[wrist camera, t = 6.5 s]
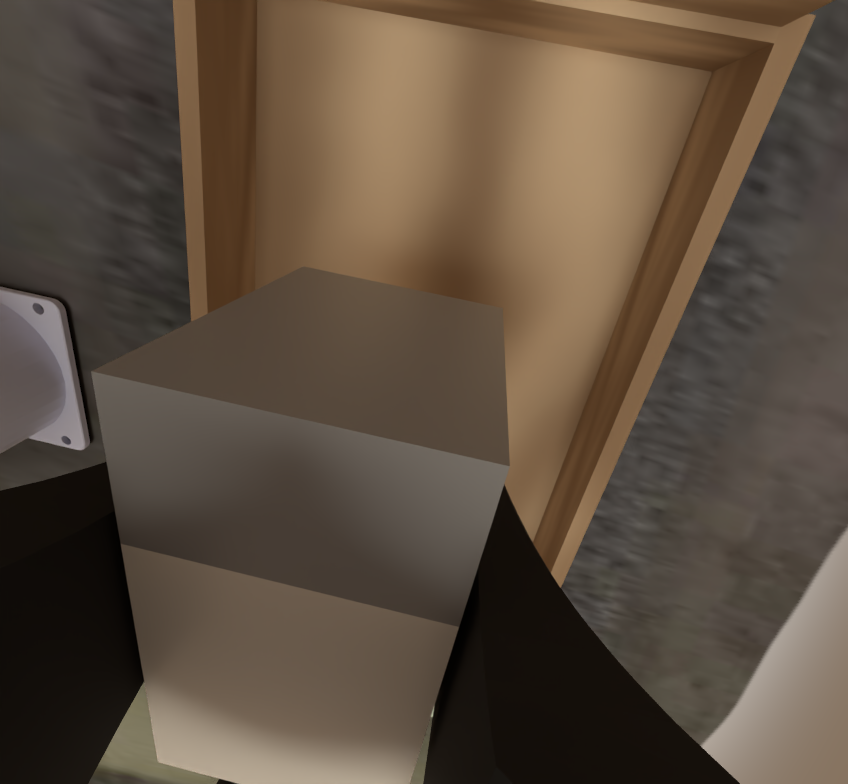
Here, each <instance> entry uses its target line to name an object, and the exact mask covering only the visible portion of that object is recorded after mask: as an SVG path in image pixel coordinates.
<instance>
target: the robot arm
mask: <svg viewBox="0 0 848 784" xmlns="http://www.w3.org/2000/svg"><path fill="white" fill-rule="evenodd" d="M41 306H42V307H43V309H44V310H43V309H42V308H41ZM27 438H30V439H34V440H38V441H42V442H47V443H51V444H55V445H59V446H63V447H67V448H72V449H76V450H83V449H85V448H86V447H88V446H89V444H90V439H89V433H88V428H87V422H86V417H85V412H84V406H83V401H82V395H81V390H80V385H79V379H78V374H77V368H76V363H75V358H74V352H73V347H72V341H71V336H70V330H69V325H68V320H67V314H66V310H65V307H64V306H63V304H62V303H61V302H59V301H58V300H56V299H54V298H50V297H45V296H40V295H36V294H31V293H27V292H22V291H18V290H13V289H9V288H4V287H0V454H1V453H2V452H4V451H6V450H8V449H9V448H11V447H13V446H15V445H16V444H18V443H20V442H22V441H23V440H25V439H27ZM143 682H144V677H143V671H142V666H141V660H140V654H139V648H138V642H137V636H136V631H135V625H134V619H133V613H132V607H131V601H130V596H129V590H128V584H127V578H126V572H125V566H124V561H123V555H122V549H121V543H120V537H119V531H118V526H117V520H116V514H115V508H114V502H113V496H112V491H111V485H110V479H109V473H108V467H107V462H105V463H102V464H98V465H95V466H92V467H89V468H86V469H82V470H79V471H76V472H72V473H69V474H65V475H62V476H58V477H55V478H51V479H47V480H44V481H40V482H36V483H31V484H27V485H23V486H19V487H14V488H10V489H6V490H2V491H0V784H88V783H89V781H90V779H91V777H92V775H93V773H94V771H95V770H96V768H97V766H98V764H99V762H100V760H101V758H102V757H103V755H104V753H105V751H106V749H107V747H108V745H109V743H110V742H111V740H112V738H113V736H114V734H115V732H116V730H117V729H118V727H119V725H120V723H121V721H122V719H123V717H124V716H125V714H126V712H127V710H128V709H129V707H130V705H131V703H132V702H133V700H134V698H135V696H136V694H137V693H138V691H139V689H140V687H141V686H142V684H143ZM423 784H740V783H739V782H738V781H737V780H736V779H735V778H733V777H732V776H731V775H730V774H729V773H728V772H727V771H726V770H725V769H724V768H723V767H722V766H721V765H720V764H719V763H718V762H717V761H715V760H714V759H713V758H712V757H711V756H710V755H709V754H708V753H707V752H706V751H705V750H704V749H703V748H702V747H701V746H700V745H699V744H698V743H696V742H695V741H694V740H693V739H692V738H691V737H690V736H689V735H688V734H687V733H686V732H685V731H684V730H683V729H682V728H681V727H680V726H679V725H677V724H676V723H675V722H674V721H673V719H672V718H671V717H670V716H669V715H668V714H667V713H666V712H665V711H664V710H663V709H662V708H661V707H660V706H659V705H658V704H657V703H656V702H655V701H654V700H653V699H652V698H651V697H650V696H649V694H648V693H647V692H646V691H645V690H644V689H643V688H642V687H641V686H640V685H639V684H638V683H637V682H636V681H635V680H634V679H633V677H632V676H631V675H630V674H629V673H628V672H627V671H626V670H625V668H624V667H623V666H622V665H621V664H620V663H619V662H618V661H617V660H616V658H615V657H614V656H613V655H612V654H611V652H610V651H609V650H608V649H607V648H606V646H605V645H604V644H603V643H602V642H601V640H600V639H599V638H598V637H597V636H596V634H595V633H594V632H593V631H592V630H591V628H590V627H589V626H588V625H587V623H586V622H585V621H584V619H583V618H582V617H581V616H580V614H579V613H578V612H577V610H576V609H575V608H574V606H573V605H572V603H571V602H570V601H569V599H568V598H567V596H566V595H565V594H564V592H563V591H562V589H561V588H560V586H559V585H558V583H557V582H556V580H555V579H554V577H553V576H552V574H551V572H550V571H549V569H548V568H547V566H546V564H545V563H544V561H543V559H542V558H541V556H540V554H539V553H538V551H537V549H536V548H535V546H534V544H533V542H532V540H531V538H530V537H529V535H528V533H527V531H526V529H525V527H524V525H523V523H522V521H521V519H520V517H519V515H518V513H517V511H516V509H515V507H514V505H513V503H512V500H511V498H510V496H509V494H508V491H507V489H506V487H505V484H504V487H503V490H502V493H501V496H500V499H499V502H498V506H497V509H496V512H495V515H494V518H493V521H492V524H491V528H490V531H489V534H488V537H487V540H486V543H485V547H484V550H483V553H482V556H481V559H480V562H479V566H478V569H477V572H476V575H475V578H474V581H473V585H472V588H471V591H470V594H469V597H468V600H467V604H466V607H465V610H464V613H463V616H462V619H461V623H460V626H459V629H458V632H457V635H456V638H455V642H454V645H453V648H452V651H451V654H450V657H449V661H448V664H447V667H446V670H445V673H444V676H443V680H442V683H441V686H440V689H439V692H438V695H437V699H436V702H435V705H434V712H433V719H432V727H431V734H430V741H429V748H428V755H427V762H426V769H425V776H424V783H423Z"/></svg>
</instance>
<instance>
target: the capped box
mask: <svg viewBox="0 0 848 784" xmlns="http://www.w3.org/2000/svg"><path fill="white" fill-rule="evenodd" d="M91 374H92V380H93V386H94V391H95V397H96V403H97V409H98V415H99V421H100V426H101V432H102V438H103V444H104V450H105V456H106V461H107V467H108V473H109V479H110V485H111V491H112V496H113V502H114V508H115V514H116V520H117V526H118V531H119V537H120V543H121V549H122V555H123V561H124V566H125V572H126V578H127V584H128V590H129V596H130V601H131V607H132V613H133V619H134V625H135V631H136V636H137V642H138V648H139V654H140V660H141V666H142V671H143V677H144V683H145V689H146V695H147V701H148V706H149V712H150V718H151V724H152V730H153V736H154V741H155V747H156V753H157V759H158V762H160V763H164V764H167V765H171V766H175V767H178V768H182V769H186V770H189V771H193V772H197V773H201V774H204V775H208V776H212V777H215V778H219V779H223V780H226V781H230V782H234V783H238V784H410V781H411V778H412V774H413V771H414V768H415V765H416V762H417V759H418V755H419V752H420V749H421V746H422V743H423V740H424V736H425V733H426V730H427V727H428V724H429V721H430V718H431V714H432V711H433V708H434V705H435V702H436V699H437V695H438V692H439V689H440V686H441V683H442V680H443V676H444V673H445V670H446V667H447V664H448V661H449V657H450V654H451V651H452V648H453V645H454V642H455V638H456V635H457V632H458V629H459V626H460V623H461V619H462V616H463V613H464V610H465V607H466V604H467V600H468V597H469V594H470V591H471V588H472V585H473V581H474V578H475V575H476V572H477V569H478V566H479V562H480V559H481V556H482V553H483V550H484V547H485V543H486V540H487V537H488V534H489V531H490V528H491V524H492V521H493V518H494V515H495V512H496V509H497V506H498V502H499V499H500V496H501V493H502V490H503V487H504V483H505V480H506V477H507V474H508V471H509V468H510V458H509V436H508V414H507V392H506V369H505V347H504V325H503V308H500V307H495V306H490V305H486V304H481V303H476V302H471V301H467V300H462V299H457V298H452V297H447V296H443V295H438V294H433V293H428V292H424V291H419V290H414V289H409V288H405V287H400V286H395V285H390V284H385V283H381V282H376V281H371V280H366V279H362V278H357V277H352V276H347V275H343V274H338V273H333V272H328V271H323V270H319V269H314V268H309V267H304V266H303V267H301V268H299V269H297V270H295V271H293V272H291V273H289V274H287V275H285V276H283V277H281V278H279V279H277V280H275V281H273V282H271V283H269V284H267V285H265V286H263V287H261V288H259V289H257V290H255V291H253V292H250V293H248V294H246V295H244V296H242V297H240V298H238V299H236V300H234V301H232V302H230V303H228V304H226V305H224V306H222V307H220V308H218V309H216V310H214V311H212V312H210V313H208V314H206V315H204V316H202V317H200V318H198V319H196V320H194V321H192V322H190V323H188V324H186V325H184V326H182V327H180V328H178V329H176V330H174V331H172V332H170V333H168V334H166V335H164V336H161V337H159V338H157V339H155V340H153V341H151V342H149V343H147V344H145V345H143V346H141V347H139V348H137V349H135V350H133V351H131V352H129V353H127V354H125V355H123V356H121V357H119V358H117V359H115V360H113V361H111V362H109V363H107V364H105V365H103V366H101V367H99V368H97V369H95V370H93V371H91Z"/></svg>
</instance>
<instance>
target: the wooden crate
mask: <svg viewBox="0 0 848 784" xmlns="http://www.w3.org/2000/svg"><path fill="white" fill-rule="evenodd" d="M832 1H834V0H173V12H174V29H175V47H176V64H177V81H178V99H179V116H180V134H181V151H182V168H183V186H184V203H185V220H186V238H187V255H188V272H189V290H190V307H191V322H192V321H194V320H196V319H198V318H200V317H202V316H204V315H206V314H208V313H210V312H212V311H214V310H216V309H218V308H220V307H222V306H224V305H226V304H228V303H230V302H232V301H234V300H236V299H238V298H240V297H242V296H244V295H246V294H248V293H250V292H253V291H255V290H257V289H259V288H261V287H263V286H265V285H267V284H269V283H271V282H273V281H275V280H277V279H279V278H281V277H283V276H285V275H287V274H289V273H291V272H293V271H295V270H297V269H299V268H301V267H303V266H304V267H309V268H314V269H319V270H323V271H328V272H333V273H338V274H343V275H347V276H352V277H357V278H362V279H366V280H371V281H376V282H381V283H385V284H390V285H395V286H400V287H405V288H409V289H414V290H419V291H424V292H428V293H433V294H438V295H443V296H447V297H452V298H457V299H462V300H467V301H471V302H476V303H481V304H486V305H490V306H495V307H500V308H503V325H504V347H505V369H506V392H507V414H508V436H509V458H510V468H509V471H508V474H507V477H506V480H505V483H504V484H505V487H506V489H507V491H508V494H509V496H510V498H511V500H512V503H513V505H514V507H515V509H516V511H517V513H518V515H519V517H520V519H521V521H522V523H523V525H524V527H525V529H526V531H527V533H528V535H529V537H530V538H531V540H532V542H533V544H534V546H535V548H536V549H537V551H538V553H539V554H540V556H541V558H542V559H543V561H544V563H545V564H546V566H547V568H548V569H549V571H550V572H551V574H552V576H553V577H554V579H555V580H556V582H557V583H558V585H559V586H560V588H561V586H562V584H563V582H564V579H565V577H566V575H567V573H568V570H569V568H570V566H571V564H572V561H573V559H574V557H575V555H576V552H577V550H578V548H579V546H580V543H581V541H582V539H583V537H584V534H585V532H586V530H587V528H588V525H589V523H590V521H591V519H592V516H593V514H594V512H595V510H596V507H597V505H598V503H599V501H600V499H601V496H602V494H603V492H604V490H605V487H606V485H607V483H608V481H609V478H610V476H611V474H612V472H613V469H614V467H615V465H616V463H617V460H618V458H619V456H620V454H621V451H622V449H623V447H624V445H625V442H626V440H627V438H628V436H629V433H630V431H631V429H632V427H633V424H634V422H635V420H636V418H637V415H638V413H639V411H640V409H641V407H642V404H643V402H644V400H645V398H646V395H647V393H648V391H649V389H650V386H651V384H652V382H653V380H654V377H655V375H656V373H657V371H658V368H659V366H660V364H661V362H662V359H663V357H664V355H665V353H666V350H667V348H668V346H669V344H670V341H671V339H672V337H673V335H674V332H675V330H676V328H677V326H678V323H679V321H680V319H681V317H682V315H683V312H684V310H685V308H686V306H687V303H688V301H689V299H690V297H691V294H692V292H693V290H694V288H695V285H696V283H697V281H698V279H699V276H700V274H701V272H702V270H703V267H704V265H705V263H706V261H707V258H708V256H709V254H710V252H711V249H712V247H713V245H714V243H715V240H716V238H717V236H718V234H719V232H720V229H721V227H722V225H723V223H724V220H725V218H726V216H727V214H728V211H729V209H730V207H731V205H732V202H733V200H734V198H735V196H736V193H737V191H738V189H739V187H740V184H741V182H742V180H743V178H744V175H745V173H746V171H747V169H748V166H749V164H750V162H751V160H752V157H753V155H754V153H755V151H756V148H757V146H758V144H759V142H760V140H761V137H762V135H763V133H764V131H765V128H766V126H767V124H768V122H769V119H770V117H771V115H772V113H773V110H774V108H775V106H776V104H777V101H778V99H779V97H780V95H781V92H782V90H783V88H784V86H785V83H786V81H787V79H788V77H789V74H790V72H791V70H792V68H793V65H794V63H795V61H796V59H797V56H798V54H799V52H800V50H801V48H802V45H803V43H804V41H805V39H806V36H807V34H808V32H809V30H810V27H811V25H812V23H813V21H814V18H815V16H816V15H811V14H808V13H810V12H812V11H814V10H816V9H818V8H820V7H822V6H824V5H826V4H828V3H830V2H832Z"/></svg>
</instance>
